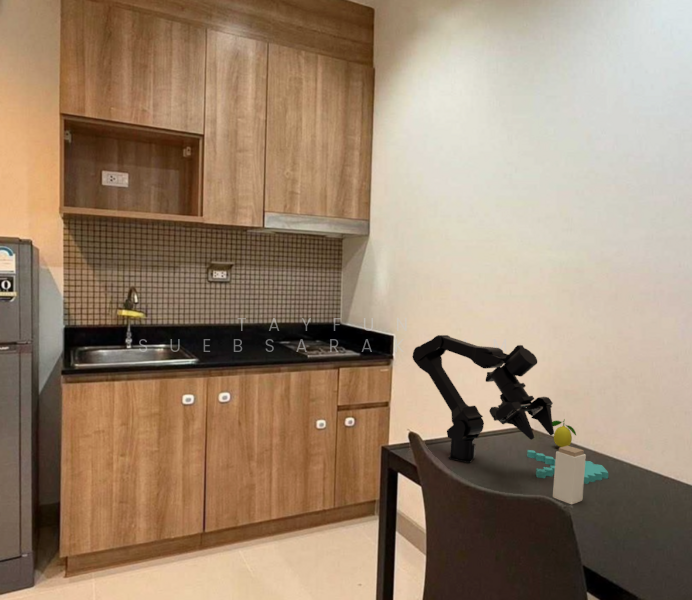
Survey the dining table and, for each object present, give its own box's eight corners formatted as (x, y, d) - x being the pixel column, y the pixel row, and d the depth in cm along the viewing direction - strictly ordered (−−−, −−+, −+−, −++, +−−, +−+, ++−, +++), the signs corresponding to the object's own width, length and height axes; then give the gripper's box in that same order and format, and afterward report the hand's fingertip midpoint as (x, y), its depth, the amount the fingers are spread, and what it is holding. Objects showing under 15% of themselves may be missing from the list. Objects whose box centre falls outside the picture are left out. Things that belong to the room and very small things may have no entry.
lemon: (546, 446, 177) (549, 416, 176) (559, 445, 179) (562, 415, 179) (562, 452, 171) (565, 422, 170) (575, 451, 173) (578, 421, 173)
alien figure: (536, 479, 146) (614, 489, 142) (537, 471, 146) (615, 480, 142) (526, 456, 166) (595, 465, 162) (527, 449, 166) (595, 458, 162)
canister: (552, 497, 132) (556, 447, 132) (563, 493, 135) (567, 445, 135) (571, 504, 128) (575, 453, 128) (582, 500, 131) (586, 450, 131)
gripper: (510, 399, 156) (541, 447, 148) (469, 405, 145) (500, 457, 136) (536, 378, 150) (570, 426, 141) (496, 381, 138) (530, 434, 130)
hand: (542, 436), depth 137 cm, fingers open, 9 cm apart
